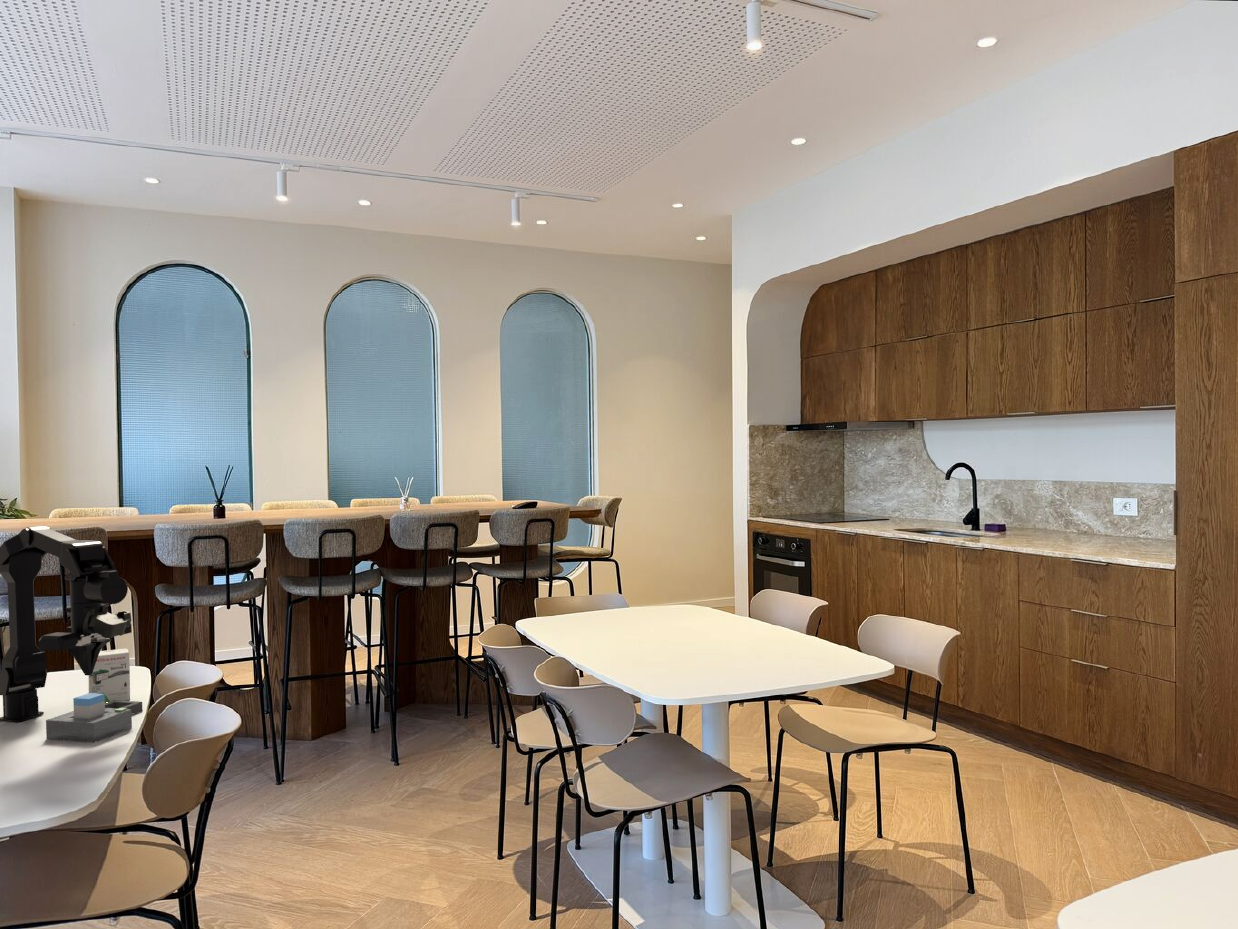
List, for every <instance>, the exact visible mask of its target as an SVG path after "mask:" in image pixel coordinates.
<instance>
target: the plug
mask: <svg viewBox="0 0 1238 929" xmlns="http://www.w3.org/2000/svg"><path fill="white" fill-rule="evenodd" d="M72 701H73V702H72V703H73V711H74V718H81V719H91V718H94V717H96V716H99V715H102V714H105V696H104V694H96V693H89V692H88V693H86V694H82V695H78V696H75V697H74V698H73V700H72Z"/></svg>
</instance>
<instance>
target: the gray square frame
mask: <svg viewBox="0 0 1238 929" xmlns="http://www.w3.org/2000/svg"><path fill="white" fill-rule="evenodd" d="M105 708H117V709H119V708H127V709H131V714H132V715H134V714H137V713H140V712H142V711H143V701H138V700H137V701H135V700H125V701H118V700H114V701H111V702H108V703H105Z"/></svg>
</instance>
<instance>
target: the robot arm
mask: <svg viewBox="0 0 1238 929" xmlns="http://www.w3.org/2000/svg"><path fill="white" fill-rule="evenodd" d="M47 554H49V555H52V556H54V557H57V558H59V560H60V561H59V563H60V565H61V566H62V567H64V568H65V569H67V571H69V572H68V573H66V575H65V576H64V580H66V581H69V599H70V601H69V602H70V606H69V607H65V613H67V614H70V626H67V627H66V628H65V629H66V630H65V631H66V632H52V633H47V634H43V635H42V636H40V638H39V639H38V645H37V640H36V639H37V637H36V635H37V634H36V614H35V613H36V612H35V590H34V589H35V588H34V582H35V579H36V578H37V576H38V574H39V573H40V571H41V570H42V562H43V558H45V556H46V555H47ZM0 575H1V576H2V578H3V579H4V580H5V582H6V583H7V600H8V601H7V604H8V623H9V624H8V625H9V626H8V627H9V628H8V631H9V648H8V649H7V652H6V653H5V654H4V656H3V657H2V660H1V669H0V696H2V710H3V712H2V716H0V722H13V723H14V722H15V723H21V722H24V721H26V720H30V719H32V718H36V717H39V716H42V715H44V714H45V712H44V711H39V696H38V689H41V688H45V686H46V683H47V682H46V681H47V677H48V676H47V675H48V671H49V667H48V664H47V657H48V655H47V653H46V652H45V651H64V650H68V652H69V653H70V654H71V655H72V657H73V658H74V659H75V661H76V663H77V664H78V666H79V668H80V669H81V671H82V673H83V674H84V676H89V675H91V674H92V673H93V670H94V667H95V664H96V661H97V658H98V655H99V653H100V651H102V648H103V647H104V646H106V645H107V644H108V643H110V642H111V641H112V639H113V638H114V637H118V636H119V637H121V636H123V635H128V634H131V633H132V631H133V630H132V614H131V612H130V611H128V610H127V609H124V610H120V611H119V612H117V613H116V612H114V613H110V612H109V609H108V605H117V604H119V603H121V602H122V601H124V599H125V598H126V597H127V594H128V592H129V591H128V589H129V586H128V585H127V583H126V581H125V580H124V579H123V578H122V577H120V576H119V572H118V570H116V567H115V563H114V561H113V560H112V558H111V557H110V555H109V553H108V551H107V548H106V547H105V544H104V543H102V542H101V541H99V540H91V539H89V540H88V539H85V540H84V539H82V540H79V539H75V538H73V537H70V536H68V535H66V534H63V533H61V532H58V531H55V530H53V529H52V528H50V527H49V526H46V525H42V526H41V525H40V526H29V527H28V526H27V527H25V528H23V529H22V530H21V531H19V533H18V534H16V535H13V536H12V537H10V538H8V539H7V540H5V541H4V542H3V543H2V544H1V545H0Z"/></svg>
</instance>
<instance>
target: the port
mask: <svg viewBox="0 0 1238 929" xmlns="http://www.w3.org/2000/svg"><path fill="white" fill-rule="evenodd" d="M132 715H133V714H131V709H127V708H119V709H117V708H105V714H102V715H99V716H96V717H94V718H91V719H81V718H74V710H72V711H68V712H66V713H64V714H60V715H58V716H54V717H52V718H48V719H46V720H45V730H46V733H45V734H46V740H51V741H66V742H67V741H68V742H77V743H78V742H80V743H92V744H93V743H96V742H99V741H103V740H104V739H106V738H109V737H112V736H115V735H116V734H117V735H118V734H120V733H122V732H125V731H127V730H130V729H132V728H133V722H132Z"/></svg>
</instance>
